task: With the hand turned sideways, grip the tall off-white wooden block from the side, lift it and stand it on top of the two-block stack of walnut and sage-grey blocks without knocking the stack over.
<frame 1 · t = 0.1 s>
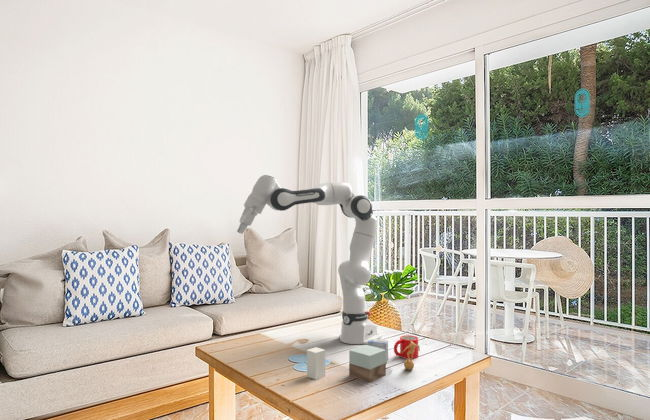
hand: (239, 232, 195), 54 cm above the table, tool tilted 30°, fingers open, 8 cm apart
tall block: (316, 376, 164), on the table
tower top: (367, 363, 164), point 5 cm above the table, touching tower bottom
mug: (405, 356, 186), on the table
tower bottom: (367, 376, 164), on the table, touching tower top
medicine box: (378, 361, 180), on the table
figurine: (410, 370, 169), on the table
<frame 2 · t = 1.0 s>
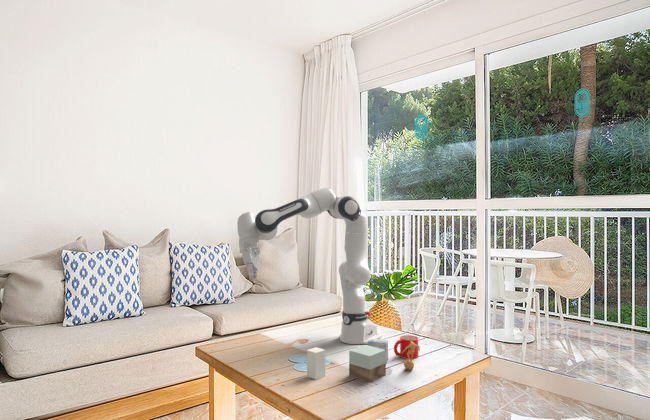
hand: (252, 277, 186), 35 cm above the table, tool tilted 25°, fingers open, 8 cm apart
nothing on the table moved.
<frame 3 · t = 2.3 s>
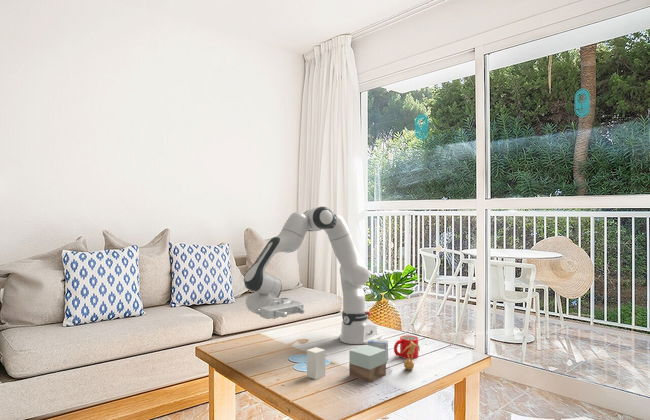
hand: (294, 313, 173), 22 cm above the table, tool horizontal, fingers open, 8 cm apart
tower top: (367, 363, 164), point 5 cm above the table
tower bottom: (367, 376, 164), on the table
everything else where it was.
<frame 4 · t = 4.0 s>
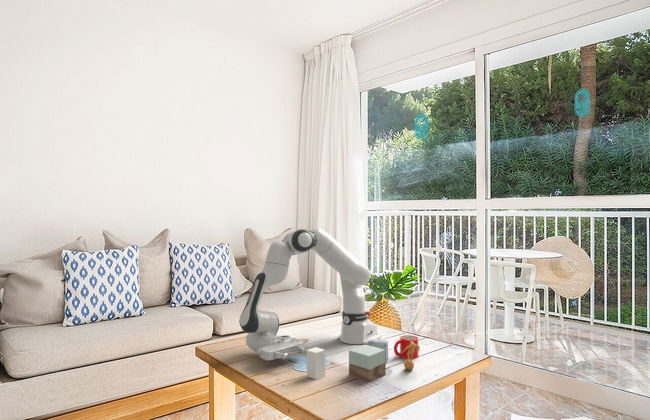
hand: (294, 353, 172), 6 cm above the table, tool horizontal, fingers open, 8 cm apart
tower top: (367, 362, 164), point 5 cm above the table, touching tower bottom
tower bottom: (367, 376, 164), on the table, touching tower top
everything else where it was.
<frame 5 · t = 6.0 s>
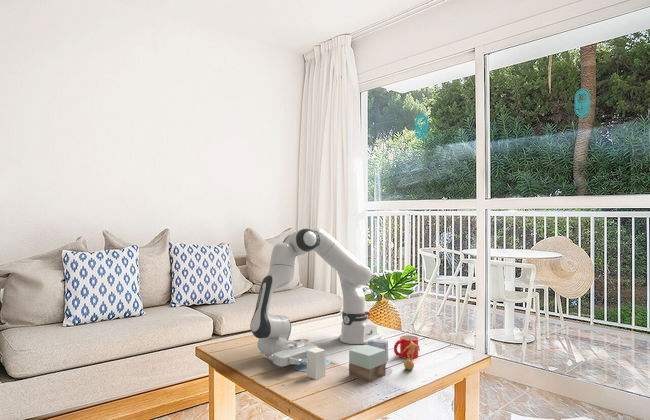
hand: (309, 359, 166), 6 cm above the table, tool horizontal, fingers open, 8 cm apart
nothing on the table moved.
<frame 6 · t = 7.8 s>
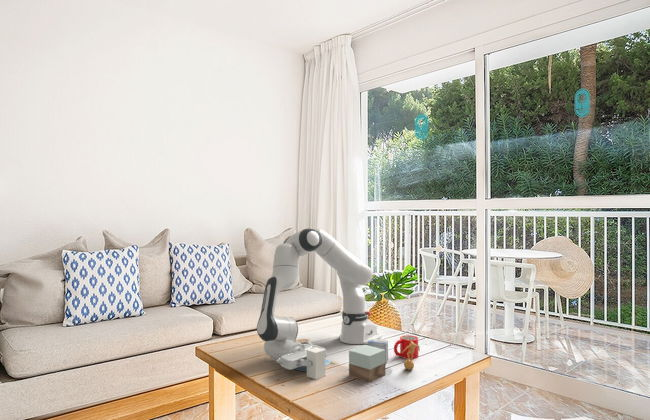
hand: (317, 362, 163), 6 cm above the table, tool horizontal, fingers closed on tall block, 5 cm apart
tall block: (316, 376, 164), on the table, touching gripper
everything else where it was.
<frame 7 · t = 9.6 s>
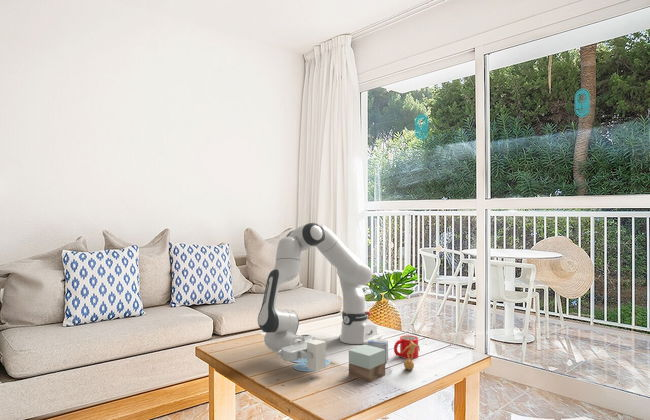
hand: (317, 354, 163), 9 cm above the table, tool horizontal, fingers closed on tall block, 5 cm apart
tall block: (316, 367, 164), point 3 cm above the table, touching gripper
everything else where it was.
when the fingers open (17 cm above the table, at t = 16.1 s): tall block drops 2 cm, point 10 cm above the table.
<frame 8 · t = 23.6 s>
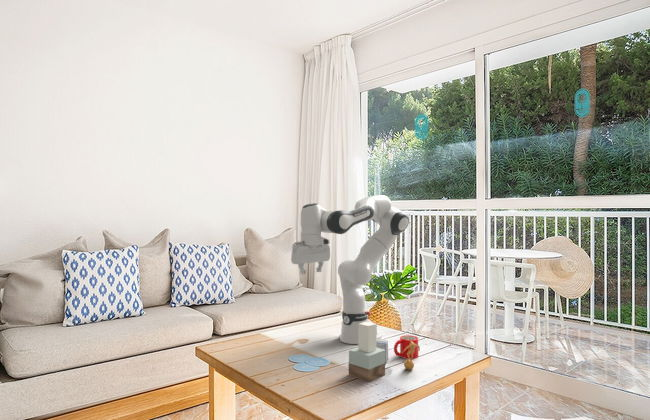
hand: (311, 273, 183), 37 cm above the table, tool pointing down, fingers open, 8 cm apart
tall block: (367, 349, 164), point 10 cm above the table
tower top: (367, 363, 164), point 5 cm above the table
tower bottom: (366, 375, 164), on the table
everything else where it was.
at the end: tall block inside the target area on the tower bottom (0.4 cm from its centre), point 10.1 cm above the tower bottom's base; tall block tilted 2°; tower top moved 0.4 cm from its start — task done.
